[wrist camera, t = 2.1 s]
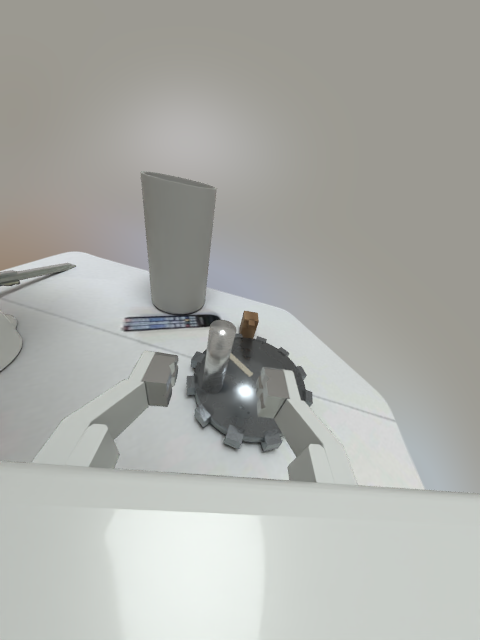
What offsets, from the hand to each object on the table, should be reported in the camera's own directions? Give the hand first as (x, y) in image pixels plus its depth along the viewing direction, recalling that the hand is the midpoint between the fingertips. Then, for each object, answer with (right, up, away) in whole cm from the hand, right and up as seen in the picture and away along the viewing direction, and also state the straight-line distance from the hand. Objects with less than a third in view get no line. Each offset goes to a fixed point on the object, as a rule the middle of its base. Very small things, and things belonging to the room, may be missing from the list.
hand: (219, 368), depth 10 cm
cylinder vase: (-14, +7, +39) cm, 42 cm away
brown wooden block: (+2, -1, +34) cm, 34 cm away
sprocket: (+2, -9, +23) cm, 25 cm away
